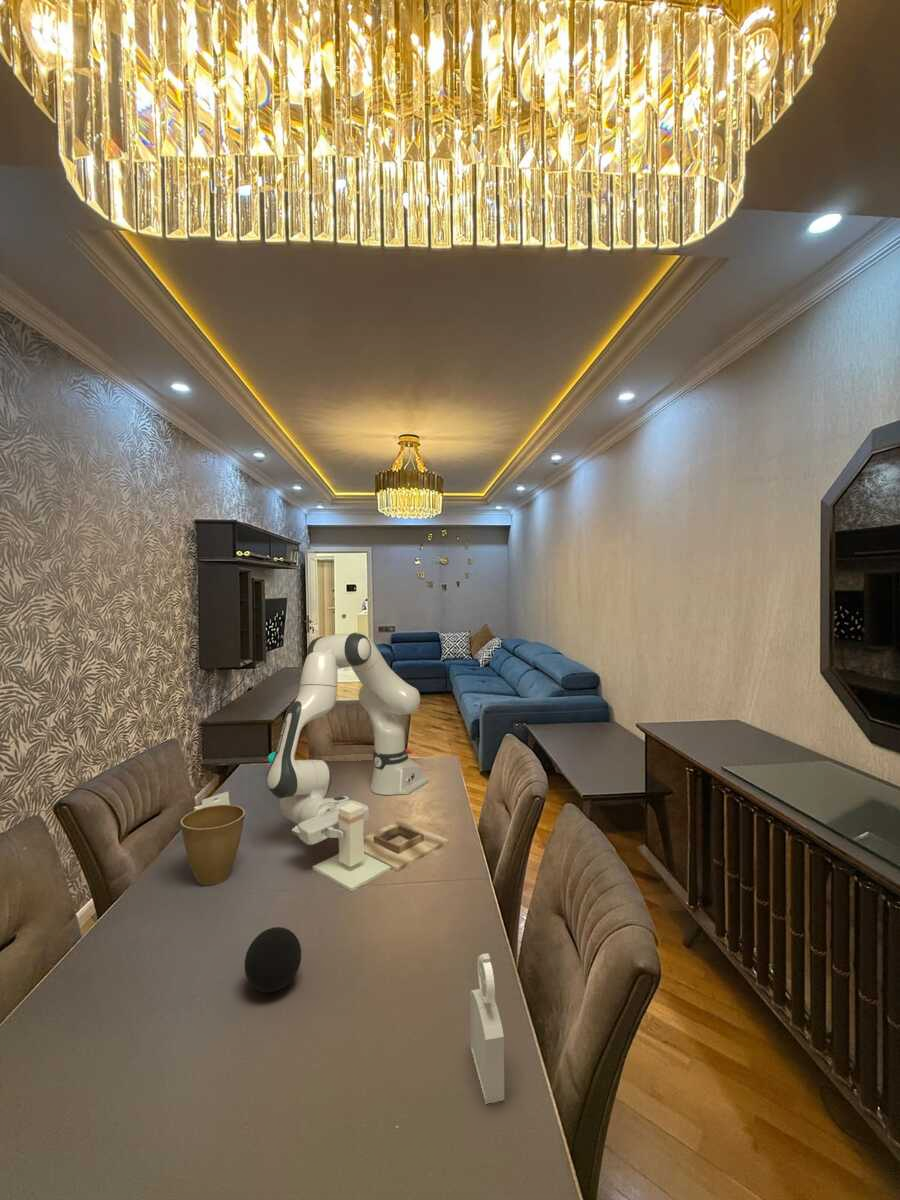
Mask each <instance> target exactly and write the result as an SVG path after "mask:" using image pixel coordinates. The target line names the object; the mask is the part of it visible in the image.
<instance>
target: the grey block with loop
mask: <svg viewBox="0 0 900 1200" xmlns="http://www.w3.org/2000/svg"><path fill="white" fill-rule="evenodd" d="M477 977H478V979H477V980H478V984H479V988H478V989H471V990H470V991H469V992H470V993H469V994H470V995H469V996H470V997H469V998H470V999H469V1001H470V1003H469V1004H470V1010H469V1011H470V1050H471V1055H472V1054H473V1055H472V1058H474V1059H473V1062H474V1066H475V1065H476V1066H475V1070H476V1069H477V1070H476V1073H478V1074H477V1077H478V1080H480V1081H479V1084H481V1085H480V1088H482V1089H481V1092H482V1095H484V1096H483V1099H485V1100H484V1103H485V1105H486V1104H488V1103H493V1104H495V1103H494V1102H496V1101H497V1102H498V1101H503V1100H504V1101H505V1035H504V1031H503V1025H502V1021H501V1017H500V1013H499V1009H498V1006H497V1003H496V1000H495V999H496V987H495V986H496V985H495V977H494V971H493V966H492V962H491V956H490V954H489V953H481V954H480V955H478V957H477ZM504 1101H503V1102H504ZM498 1103H499V1102H498ZM488 1105H489V1104H488Z"/></svg>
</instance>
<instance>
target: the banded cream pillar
mask: <svg viewBox="0 0 900 1200" xmlns="http://www.w3.org/2000/svg"><path fill="white" fill-rule="evenodd" d="M338 810H339V814H338V819H339V830H340V829H343V830H345V831H346V837H345V838H343V839H339V838H338V854H339V861H340V862H342V863H344V864H346V865H348V866H350V867H351V866H353V865H355V864H357V863H359V862H361V861H363V860H364V837H365V836H364V829H363V823H364V822H363V818H364V813H363V807H362V806H359V805H357V804H354V803H350V804H347V805H345V806H342V807H340V808H338Z"/></svg>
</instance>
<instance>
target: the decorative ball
mask: <svg viewBox="0 0 900 1200" xmlns="http://www.w3.org/2000/svg"><path fill="white" fill-rule="evenodd" d="M301 961H302V945H301V944H300V940H299V939H298V937H297V936H296V934H295V933H294V932H293V931H292V930H290V929H287V928H285V927H279V926H277V927H274V926H273V927H270V928H267V929H265V930H263V931H262V932H260V933H259V934H258V935H256V937H255V938H254V939H253V940H252V941H251V943H250V945H249V946H248V948H247V951H246V954H245V957H244V974H245V977H246V980H247V981H248V983H249V984H250V985H251V986H252V987H253V988H254V989H255V990H257V991H259V992H262V993H273V992H274V993H275V992H277V991H280V990H282V989H283V988H285V987H286V986H287V985H289V984H290V982H292V980H293V979H295V976H296V974H297V973H298V971H299V969H300V966H301Z"/></svg>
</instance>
